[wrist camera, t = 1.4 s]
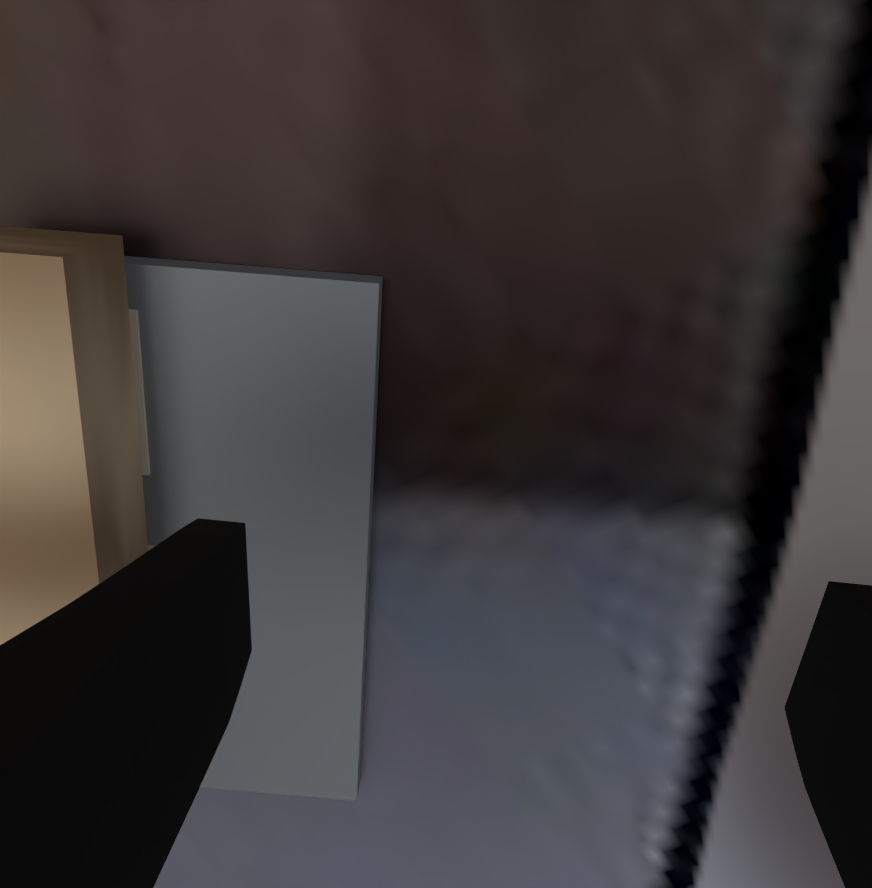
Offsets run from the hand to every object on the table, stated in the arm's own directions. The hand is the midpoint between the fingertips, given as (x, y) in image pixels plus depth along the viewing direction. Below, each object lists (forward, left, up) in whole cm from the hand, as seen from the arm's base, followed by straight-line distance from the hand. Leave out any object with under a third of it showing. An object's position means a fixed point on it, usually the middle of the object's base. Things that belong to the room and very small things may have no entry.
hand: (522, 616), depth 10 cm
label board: (-5, +9, -9) cm, 14 cm away
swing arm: (-5, +9, -8) cm, 13 cm away
